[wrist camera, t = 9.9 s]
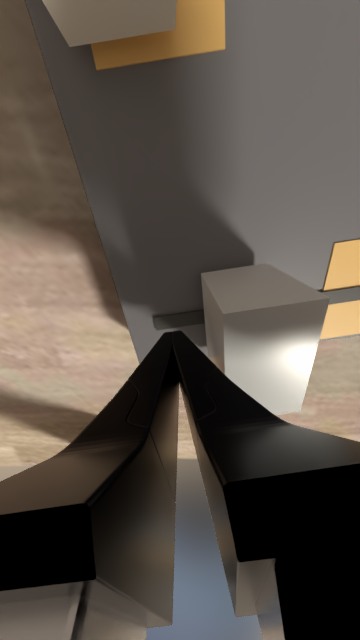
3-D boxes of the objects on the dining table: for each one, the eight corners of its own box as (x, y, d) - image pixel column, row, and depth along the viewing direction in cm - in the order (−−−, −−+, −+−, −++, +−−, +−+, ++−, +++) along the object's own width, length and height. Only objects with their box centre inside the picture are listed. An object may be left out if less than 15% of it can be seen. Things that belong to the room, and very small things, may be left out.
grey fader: (266, 263, 9) (330, 297, 5) (259, 349, 11) (300, 411, 8) (200, 273, 9) (223, 314, 6) (207, 357, 11) (226, 421, 8)
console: (553, -246, 6) (911, -666, 3) (358, 307, 15) (402, 330, 12) (11, -149, 6) (-125, -463, 3) (145, 339, 15) (140, 369, 12)
